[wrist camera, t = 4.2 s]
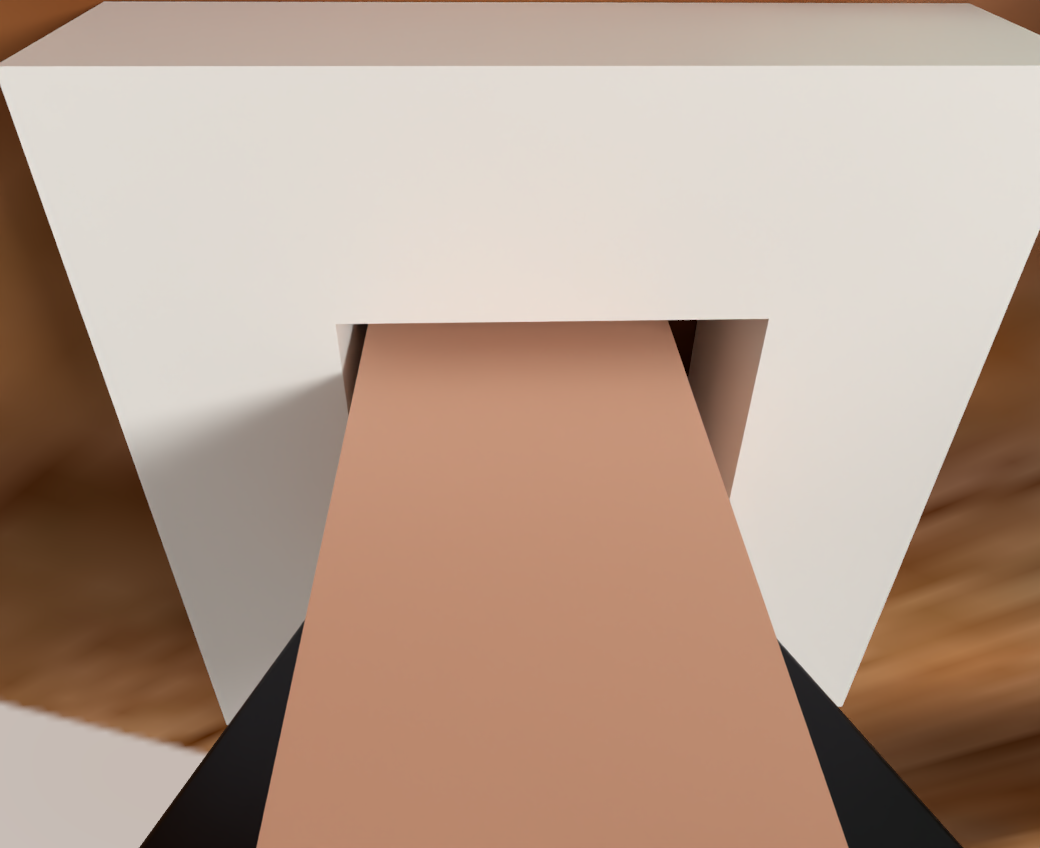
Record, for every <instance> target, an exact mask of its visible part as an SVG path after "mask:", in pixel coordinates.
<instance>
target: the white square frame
mask: <svg viewBox="0 0 1040 848" xmlns="http://www.w3.org/2000/svg"><path fill="white" fill-rule="evenodd" d="M0 86H1V88H2V91H3V94H4V97H5V100H6V102H7V105H8V108H9V111H10V114H11V117H12V119H13V122H14V125H15V128H16V131H17V134H18V136H19V139H20V142H21V145H22V148H23V151H24V153H25V156H26V159H27V162H28V165H29V167H30V170H31V173H32V176H33V179H34V182H35V184H36V187H37V190H38V193H39V196H40V199H41V201H42V204H43V207H44V210H45V213H46V216H47V218H48V221H49V224H50V227H51V230H52V233H53V235H54V238H55V241H56V244H57V247H58V249H59V252H60V255H61V258H62V261H63V264H64V266H65V269H66V272H67V275H68V278H69V281H70V283H71V286H72V289H73V292H74V295H75V298H76V300H77V303H78V306H79V309H80V312H81V315H82V317H83V320H84V323H85V326H86V329H87V331H88V334H89V337H90V340H91V343H92V346H93V348H94V351H95V354H96V357H97V360H98V363H99V365H100V368H101V371H102V374H103V377H104V380H105V382H106V385H107V388H108V391H109V394H110V396H111V399H112V402H113V405H114V408H115V411H116V413H117V416H118V419H119V422H120V425H121V428H122V430H123V433H124V436H125V439H126V442H127V445H128V447H129V450H130V453H131V456H132V459H133V462H134V464H135V467H136V470H137V473H138V476H139V478H140V481H141V484H142V487H143V490H144V493H145V495H146V498H147V501H148V504H149V507H150V510H151V512H152V515H153V518H154V521H155V524H156V527H157V529H158V532H159V535H160V538H161V541H162V544H163V546H164V549H165V552H166V555H167V558H168V560H169V563H170V566H171V569H172V572H173V575H174V577H175V580H176V583H177V586H178V589H179V592H180V594H181V597H182V600H183V603H184V606H185V609H186V611H187V614H188V617H189V620H190V623H191V625H192V628H193V631H194V634H195V637H196V640H197V642H198V645H199V648H200V651H201V654H202V657H203V659H204V662H205V665H206V668H207V671H208V674H209V676H210V679H211V682H212V685H213V688H214V691H215V693H216V696H217V699H218V702H219V705H220V707H221V710H222V713H223V716H224V719H225V722H226V724H227V725H229V723H230V722H231V721H232V719H233V718H234V716H235V715H236V714H237V712H238V711H239V709H240V708H241V707H242V705H243V704H244V703H245V701H246V700H247V698H248V697H249V696H250V694H251V693H252V692H253V690H254V689H255V687H256V686H257V685H258V683H259V682H260V681H261V679H262V678H263V676H264V675H265V674H266V672H267V671H268V669H269V668H270V667H271V665H272V664H273V663H274V661H275V660H276V658H277V657H278V656H279V654H280V653H281V652H282V650H283V649H284V647H285V646H286V645H287V643H288V642H289V641H290V639H291V638H292V636H293V635H294V634H295V632H296V631H297V629H298V628H299V627H300V625H301V624H302V623H303V621H304V620H305V618H306V613H307V608H308V604H309V599H310V594H311V590H312V585H313V580H314V576H315V571H316V566H317V562H318V557H319V552H320V548H321V543H322V538H323V533H324V529H325V524H326V519H327V515H328V510H329V505H330V501H331V496H332V491H333V487H334V482H335V477H336V473H337V468H338V463H339V459H340V454H341V449H342V444H343V440H344V435H345V430H346V426H347V421H348V416H349V412H350V407H351V402H352V398H353V393H354V388H355V384H356V379H357V374H358V370H359V365H360V360H361V355H362V351H363V346H364V341H365V337H366V332H367V327H368V324H385V323H468V322H550V321H632V320H697V324H696V330H695V337H694V343H693V349H692V356H691V362H690V368H689V374H688V381H689V384H690V387H691V390H692V393H693V396H694V399H695V401H696V404H697V407H698V410H699V413H700V416H701V419H702V422H703V425H704V428H705V431H706V434H707V436H708V439H709V442H710V445H711V448H712V451H713V454H714V457H715V460H716V463H717V466H718V469H719V471H720V474H721V477H722V480H723V483H724V486H725V489H726V492H727V495H728V498H729V501H730V504H731V506H732V509H733V512H734V515H735V518H736V521H737V524H738V527H739V530H740V533H741V536H742V539H743V541H744V544H745V547H746V550H747V553H748V556H749V559H750V562H751V565H752V568H753V571H754V574H755V576H756V579H757V582H758V585H759V588H760V591H761V594H762V597H763V600H764V603H765V606H766V609H767V611H768V614H769V617H770V620H771V623H772V626H773V629H774V632H775V635H776V638H777V639H778V640H779V641H780V643H781V644H782V645H783V646H784V647H785V648H786V649H787V650H788V652H789V653H790V654H791V655H792V656H793V657H794V658H795V659H796V661H797V662H798V663H799V664H800V665H801V666H802V667H803V668H804V670H805V671H806V672H807V673H808V674H809V675H810V676H811V677H812V679H813V680H814V681H815V682H816V683H817V684H818V685H819V686H820V688H821V689H822V690H823V691H824V692H825V693H826V694H827V695H828V697H829V698H830V699H831V700H832V701H833V702H834V703H835V704H836V706H837V707H842V706H843V703H844V701H845V699H846V696H847V694H848V691H849V689H850V686H851V684H852V682H853V679H854V677H855V674H856V672H857V670H858V667H859V665H860V662H861V660H862V657H863V655H864V653H865V650H866V648H867V645H868V643H869V640H870V638H871V636H872V633H873V631H874V628H875V626H876V624H877V621H878V619H879V616H880V614H881V611H882V609H883V607H884V604H885V602H886V599H887V597H888V595H889V592H890V590H891V587H892V585H893V582H894V580H895V578H896V575H897V573H898V570H899V568H900V566H901V563H902V561H903V558H904V556H905V553H906V551H907V549H908V546H909V544H910V541H911V539H912V537H913V534H914V532H915V529H916V527H917V524H918V522H919V520H920V517H921V515H922V512H923V510H924V508H925V505H926V503H927V500H928V498H929V495H930V493H931V491H932V488H933V486H934V483H935V481H936V479H937V476H938V474H939V471H940V469H941V466H942V464H943V462H944V459H945V457H946V454H947V452H948V450H949V447H950V445H951V442H952V440H953V437H954V435H955V433H956V430H957V428H958V425H959V423H960V421H961V418H962V416H963V413H964V411H965V408H966V406H967V404H968V401H969V399H970V396H971V394H972V391H973V389H974V387H975V384H976V382H977V379H978V377H979V375H980V372H981V370H982V367H983V365H984V362H985V360H986V358H987V355H988V353H989V350H990V348H991V346H992V343H993V341H994V338H995V336H996V333H997V331H998V329H999V326H1000V324H1001V321H1002V319H1003V317H1004V314H1005V312H1006V309H1007V307H1008V304H1009V302H1010V300H1011V297H1012V295H1013V292H1014V290H1015V288H1016V285H1017V283H1018V280H1019V278H1020V275H1021V273H1022V271H1023V268H1024V266H1025V263H1026V261H1027V259H1028V256H1029V254H1030V251H1031V249H1032V246H1033V244H1034V242H1035V239H1036V237H1037V234H1038V232H1039V230H1040V35H1038V34H1036V33H1034V32H1032V31H1029V30H1027V29H1025V28H1023V27H1021V26H1018V25H1016V24H1014V23H1012V22H1009V21H1007V20H1005V19H1003V18H1001V17H998V16H996V15H994V14H992V13H989V12H987V11H985V10H983V9H981V8H978V7H976V6H974V5H972V4H969V3H571V2H107V1H104V2H102V3H101V4H99V5H97V6H96V7H94V8H92V9H91V10H89V11H87V12H85V13H84V14H82V15H80V16H79V17H77V18H75V19H74V20H72V21H70V22H68V23H67V24H65V25H63V26H62V27H60V28H58V29H57V30H55V31H53V32H51V33H50V34H48V35H46V36H45V37H43V38H41V39H39V40H38V41H36V42H34V43H33V44H31V45H29V46H28V47H26V48H24V49H22V50H21V51H19V52H17V53H16V54H14V55H12V56H11V57H9V58H7V59H5V60H4V61H2V62H0Z"/></svg>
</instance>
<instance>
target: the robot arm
mask: <svg viewBox="0 0 1040 848" xmlns="http://www.w3.org/2000/svg"><path fill="white" fill-rule="evenodd" d="M304 622H305V620H304V621H303V623H302V624H301V625H300V627H299V628H298V629H297V631H296V632H295V634H294V635H293V636H292V638H291V639H290V641H289V642H288V643H287V645H286V646H285V647H284V649H283V650H282V652H281V653H280V654H279V656H278V657H277V658H276V660H275V661H274V663H273V664H272V665H271V667H270V668H269V669H268V671H267V672H266V674H265V675H264V676H263V678H262V679H261V681H260V682H259V683H258V685H257V686H256V687H255V689H254V690H253V692H252V693H251V694H250V696H249V697H248V698H247V700H246V701H245V703H244V704H243V705H242V707H241V708H240V709H239V711H238V712H237V714H236V715H235V716H234V718H233V719H232V721H231V722H230V723H229V725H228V726H227V727H226V729H225V730H224V732H223V733H222V734H221V736H220V737H219V738H218V740H217V741H216V743H215V744H214V745H213V747H212V748H211V749H210V751H209V752H208V754H207V755H206V756H205V758H204V759H203V761H202V762H201V763H200V765H199V766H198V767H197V769H196V770H195V772H194V773H193V774H192V776H191V777H190V779H189V780H188V781H187V783H186V784H185V785H184V787H183V788H182V789H181V791H180V792H179V794H178V795H177V796H176V798H175V799H174V800H173V802H172V803H171V805H170V806H169V807H168V809H167V810H166V812H165V813H164V814H163V816H162V817H161V818H160V820H159V821H158V823H157V824H156V825H155V827H154V828H153V830H152V831H151V832H150V834H149V835H148V836H147V838H146V839H145V841H144V842H143V843H142V845H141V846H140V848H256V847H257V843H258V838H259V833H260V829H261V824H262V819H263V814H264V810H265V805H266V800H267V796H268V791H269V786H270V782H271V777H272V772H273V768H274V763H275V758H276V754H277V749H278V744H279V740H280V735H281V730H282V726H283V721H284V716H285V711H286V707H287V702H288V697H289V693H290V688H291V683H292V679H293V674H294V669H295V665H296V660H297V655H298V651H299V646H300V641H301V637H302V632H303V627H304ZM777 641H778V644H779V646H780V649H781V652H782V655H783V658H784V661H785V664H786V667H787V670H788V673H789V676H790V679H791V681H792V684H793V687H794V690H795V693H796V696H797V699H798V702H799V705H800V708H801V711H802V714H803V716H804V719H805V722H806V725H807V728H808V731H809V734H810V737H811V740H812V743H813V746H814V749H815V751H816V754H817V757H818V760H819V763H820V766H821V769H822V772H823V775H824V778H825V781H826V784H827V787H828V789H829V792H830V795H831V798H832V801H833V804H834V807H835V810H836V813H837V816H838V819H839V822H840V824H841V827H842V830H843V833H844V836H845V839H846V842H847V845H848V848H963V847H962V846H961V845H960V844H959V843H958V842H957V840H956V839H955V838H954V837H953V836H952V835H951V834H950V833H949V831H948V830H947V829H946V828H945V827H944V826H943V825H942V824H941V822H940V821H939V820H938V819H937V818H936V817H935V816H934V815H933V813H932V812H931V811H930V810H929V809H928V808H927V807H926V806H925V804H924V803H923V802H922V801H921V800H920V799H919V798H918V797H917V795H916V794H915V793H914V792H913V791H912V790H911V789H910V788H909V786H908V785H907V784H906V783H905V782H904V781H903V780H902V779H901V777H900V776H899V775H898V774H897V773H896V772H895V771H894V770H893V768H892V767H891V766H890V765H889V764H888V763H887V762H886V761H885V759H884V758H883V757H882V756H881V755H880V754H879V753H878V752H877V751H876V749H875V748H874V747H873V746H872V745H871V744H870V743H869V742H868V740H867V739H866V738H865V737H864V736H863V735H862V734H861V733H860V731H859V730H858V729H857V728H856V727H855V726H854V725H853V724H852V722H851V721H850V720H849V719H848V718H847V717H846V716H845V715H844V713H843V712H842V711H841V710H840V709H839V708H838V707H837V706H836V704H835V703H834V702H833V701H832V700H831V699H830V698H829V697H828V695H827V694H826V693H825V692H824V691H823V690H822V689H821V688H820V686H819V685H818V684H817V683H816V682H815V681H814V680H813V679H812V677H811V676H810V675H809V674H808V673H807V672H806V671H805V670H804V668H803V667H802V666H801V665H800V664H799V663H798V662H797V661H796V659H795V658H794V657H793V656H792V655H791V654H790V653H789V652H788V650H787V649H786V648H785V647H784V646H783V645H782V644H781V643H780V641H779V640H778V639H777Z"/></svg>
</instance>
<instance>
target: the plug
mask: <svg viewBox="0 0 1040 848" xmlns="http://www.w3.org/2000/svg"><path fill="white" fill-rule="evenodd" d="M256 848H848V845H847V842H846V839H845V836H844V833H843V830H842V827H841V824H840V822H839V819H838V816H837V813H836V810H835V807H834V804H833V801H832V798H831V795H830V792H829V789H828V787H827V784H826V781H825V778H824V775H823V772H822V769H821V766H820V763H819V760H818V757H817V754H816V751H815V749H814V746H813V743H812V740H811V737H810V734H809V731H808V728H807V725H806V722H805V719H804V716H803V714H802V711H801V708H800V705H799V702H798V699H797V696H796V693H795V690H794V687H793V684H792V681H791V679H790V676H789V673H788V670H787V667H786V664H785V661H784V658H783V655H782V652H781V649H780V646H779V644H778V641H777V638H776V635H775V632H774V629H773V626H772V623H771V620H770V617H769V614H768V611H767V609H766V606H765V603H764V600H763V597H762V594H761V591H760V588H759V585H758V582H757V579H756V576H755V574H754V571H753V568H752V565H751V562H750V559H749V556H748V553H747V550H746V547H745V544H744V541H743V539H742V536H741V533H740V530H739V527H738V524H737V521H736V518H735V515H734V512H733V509H732V506H731V504H730V501H729V498H728V495H727V492H726V489H725V486H724V483H723V480H722V477H721V474H720V471H719V469H718V466H717V463H716V460H715V457H714V454H713V451H712V448H711V445H710V442H709V439H708V436H707V434H706V431H705V428H704V425H703V422H702V419H701V416H700V413H699V410H698V407H697V404H696V401H695V399H694V396H693V393H692V390H691V387H690V384H689V381H688V378H687V375H686V372H685V369H684V366H683V364H682V361H681V358H680V355H679V352H678V349H677V346H676V343H675V340H674V337H673V334H672V331H671V329H670V326H669V323H668V320H632V321H550V322H468V323H385V324H368V327H367V332H366V337H365V341H364V346H363V351H362V355H361V360H360V365H359V370H358V374H357V379H356V384H355V388H354V393H353V398H352V402H351V407H350V412H349V416H348V421H347V426H346V430H345V435H344V440H343V444H342V449H341V454H340V459H339V463H338V468H337V473H336V477H335V482H334V487H333V491H332V496H331V501H330V505H329V510H328V515H327V519H326V524H325V529H324V533H323V538H322V543H321V548H320V552H319V557H318V562H317V566H316V571H315V576H314V580H313V585H312V590H311V594H310V599H309V604H308V608H307V613H306V618H305V622H304V627H303V632H302V637H301V641H300V646H299V651H298V655H297V660H296V665H295V669H294V674H293V679H292V683H291V688H290V693H289V697H288V702H287V707H286V711H285V716H284V721H283V726H282V730H281V735H280V740H279V744H278V749H277V754H276V758H275V763H274V768H273V772H272V777H271V782H270V786H269V791H268V796H267V800H266V805H265V810H264V814H263V819H262V824H261V829H260V833H259V838H258V843H257V847H256Z"/></svg>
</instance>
